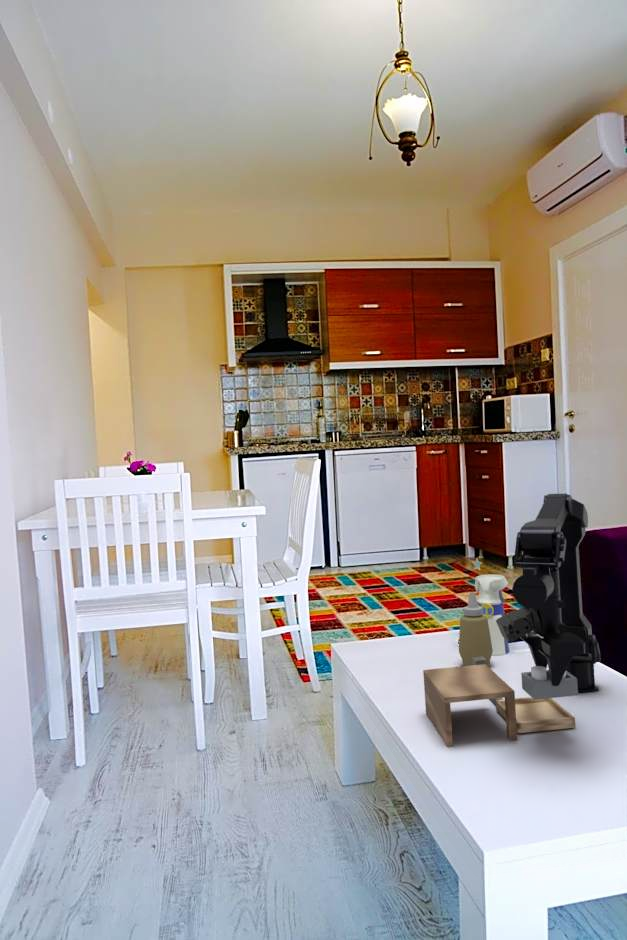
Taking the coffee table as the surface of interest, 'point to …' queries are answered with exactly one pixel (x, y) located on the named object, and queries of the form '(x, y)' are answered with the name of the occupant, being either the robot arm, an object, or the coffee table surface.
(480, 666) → the wooden stand
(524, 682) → the tray
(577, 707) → the coffee table surface
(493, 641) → the spray bottle
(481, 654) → the squeeze bottle
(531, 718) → the shallow wooden box
